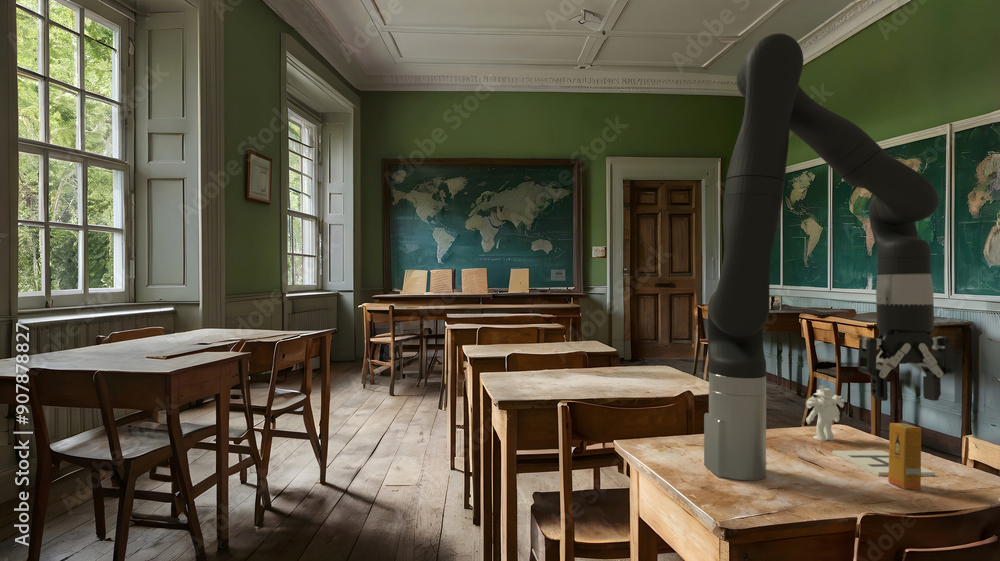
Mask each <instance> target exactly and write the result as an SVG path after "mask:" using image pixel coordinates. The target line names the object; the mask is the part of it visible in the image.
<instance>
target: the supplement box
mask: <svg viewBox="0 0 1000 561" xmlns="http://www.w3.org/2000/svg"><path fill="white" fill-rule="evenodd" d="M888 453H889V476H887V477H888V478H887V481H888V483H890V484H892V485H894V486H896V487H900V488H902V489H903V490H920V489H921V484H922V483H921V482H922V476H921V467H922V428H921V427H918V426H914V425H911V424H907V423H902V422H890V423H889V445H888Z"/></svg>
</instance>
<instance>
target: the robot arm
mask: <svg viewBox="0 0 1000 561" xmlns="http://www.w3.org/2000/svg"><path fill="white" fill-rule="evenodd" d="M803 67H804V53H803V50H802V47H801V46H800V44H799V42H798V41H797V40H796V39H795V38H794V37H792V36H791V35H789V34H786V33H780V32H779V33H772V34H769V35H767V36H765V37H763V38H761V39H760V40H759V41H758V42H756V43H755V44H754V45H753V46H752V47H751V48H750V50H749V51H748V53H747V54H746V56H745V57H744V59H743V61H742V62H741V64H740V66H739V68H738V71H737V74H736V78H735V79H736V80H735V81H736V87H737V89H738V91H739V93H740V94H741V95H742V96H743V97H744V98H745V99H744V100H745V101H744V102H745V103H744V114H743V118H742V122H741V126H740V130H739V131H738V132H739V133H738V136H737V137H736V138H737V139H736V142H735V145H734V148H733V151H732V154H731V156H730V157H731V158H730V162H729V166H728V170H727V175H726V181H725V189H724V197H723V204H722V205H723V210H722V224H723V226H722V227H723V229H722V230H723V241H724V242H723V243H724V244H723V245H724V247H723V248H724V249H723V250H724V251H723V259H722V266H721V270H720V274H719V280H718V283H717V288H716V290H715V291H714V292H713V293H712V295H711V296H710V299H709V301H708V305H707V358H708V412H705V413H704V416H703V418H704V419H703V422H704V423H703V428H704V429H703V430H704V431H703V434H704V435H703V436H704V437H703V441H704V442H703V465H704V466H705V467H706V469H708V470H710V471H711V472H712V473H713V474H715V475H716V476H717V477H719V478H727V479H728V478H729V479H733V480H738V481H758V480H762V479H764V478H765V477H766V476H767V361H766V356H765V351H764V350H765V349H764V326H765V325H766V323H767V321H768V319H769V316H770V284H771V283H770V279H771V260H772V253H773V248H774V244H775V240H776V236H777V230H778V226H779V221H780V215H781V210H782V204H783V198H784V190H785V182H786V170H787V163H788V162H787V161H788V154H789V153H788V152H789V140H790V132H792V133H793V134H795V135H796V136H797V137H798V138H800V140H802V141H803V142H804V143H805V144H806V145H807V146H808V147H809V148H810V149H811V150H813V151H814V152H815V153H816V154H817V155H818V156H819V157H820V158H821V159H822V160H823V161H824V162H825V164H827V165H828V166H829V167H830V168H831V169H832V170H833V171H834V172H835V173H836V174H837V175H838V176H839V177H840V178H842V180H843V181H845V182H846V183H847V184H848V185H849V186H851V187H854V188H861V189H864V190H866V191H868V192H869V193H870V194H872V195H873V196H872V198H871V200H870V202H869V206H868V207H869V208H868V218H869V224H870V229H871V232H872V233H871V234H872V237H873V240H874V244H875V247H876V249H877V257H876V258H877V261H876V262H877V264H876V265H877V280H876V285H875V286H876V287H875V300H876V301H875V302H876V304H875V305H876V306H875V308H876V311H875V312H876V313H875V314H876V328H877V330H878V331H879V333H878V336H877V338H876V337H871V336H861V337H859V339H858V340H859V341H858V364H857V370H858V372H860V373H863V374H866V375H868V376H869V377H870V393H871V395H872V397H873V399H875V400H877V401H880V402H886V401H888V400H889V399H888V397H889V396H888V394H889V393H888V392H889V391H888V378H887V376H888V375H889V373H890V372H891V371H892V370H893V369H895V368H896V367H898V364H899V365H900V364H901V365H902V364H903V365H906V364H914V365H916V366H918V367H919V368H920V370H921V371H922V373H923V374H924V375H925V376H922V383H923V384H922V385H923V386H922V390H923V392H922V394H923V395H922V396H923V398H924V399H925V400H929V401H931V402H932V401H935V402H936V401H939V400H940V399H939V398H940V396H941V393H942V391H941V378H943V376H945V375H947V374H950V375H951V374H954V372H955V368H954V367H955V365H954V356H953V355H954V352H953V343H952V341H953V340H952V339H951V337H946V336H939V335H933V337H932V335H931V333H932V331H933V330H934V329H935V315H934V314H935V311H934V310H935V309H934V307H935V306H934V305H935V304H934V286H933V285H934V284H933V282H932V281H933V280H932V262H931V261H932V259H931V255H932V254H931V249H930V244H929V242H927V241H926V239H925V240H924V239H922V238H920V237H919V234H918V230H917V222H920V221H923V220H925V219H927V218H929V217H931V216H932V215H933V214H934V213H935V211H936V210H937V208H938V206H939V201H940V199H939V195H938V194H939V193H938V192H937V190H936V188H935V186H934V185H933V184H932V183H931V181H930V180H928V178H926V177H925V176H924V175H922V174H921V173H920V172H918V171H916V170H915V169H913V168H912V167H910V166H908V165H906V164H905V163H903V162H901V161H900V160H898V159H896V158H894V157H893V156H890V155H889V154H888V153H887V152H886V151H885V149H884V148H883V147H881V146H880V145H879V144H878V143H877V142H876V141H875V140H874V139H873V138H872V137H871V136H870V135H869V134H868V133H867V132H866V131H865V130H863V129H862V128H861V127H859V126H858V125H857V124H856V123H854V122H852V121H851V120H849V119H848V118H845V117H844V116H841V115H840V114H837V113H836V112H834V111H831V110H830V109H828V108H826V107H824V106H822V105H821V104H820V103H818V102H817V101H816V100H814V99H813V98H812V97H810V96H809V95H808V94H807V93H806V92H805V91H804V90H803V88H802V87H801V86H800V84H799V83H800V79H801V75H802V73H803V69H804V68H803ZM879 349H880V351H879V353H878V354H877V352H878V351H877V350H879ZM931 349H932V353H931V352H930V350H931Z"/></svg>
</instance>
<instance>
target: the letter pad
mask: <svg viewBox="0 0 1000 561" xmlns="http://www.w3.org/2000/svg"><path fill="white" fill-rule="evenodd" d="M832 455H835V456H836V457H838V458H840V459H842V460H845V461H847V462H849V463H851V464H852V465H855V466H857V467H859V468H861V469H863V470H865V471H867V472H870V473H872V474H874V475H875V476H878V477H888V476H889V452H886V451H884V450H832ZM932 476H933V477H935V476H936V474H935V471H933V470H930V469H927V468H925V467H923V466H921V477H932Z"/></svg>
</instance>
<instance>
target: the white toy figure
mask: <svg viewBox="0 0 1000 561" xmlns="http://www.w3.org/2000/svg"><path fill="white" fill-rule="evenodd" d="M814 395H815V396H814ZM844 402H845V399H843V398H842V395H838V394H835V393H833V392H832V389H831V388H826V387H824V385H818V389H816V392H815V393H813V394H812V395H811V396H810V398H808V399H807V400H805V405H806V407H807V409H811V408H813V409H812V410H811V411H810V413H809V414H808V416H807V417H806V418H805V421H806V423H807V425H810V424H811V422H812V421H814V420H815V417H816V416H817V422H816V428H815V431H816V435H813V440H816V441H821V442H827V441H834V433H833V431H832V425H833V421H834V422H835V423H839V421H840V410H839V408H838V406H839V407H840V408H842V409H843V408H844V406H845V403H844ZM837 405H838V406H837Z"/></svg>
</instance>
